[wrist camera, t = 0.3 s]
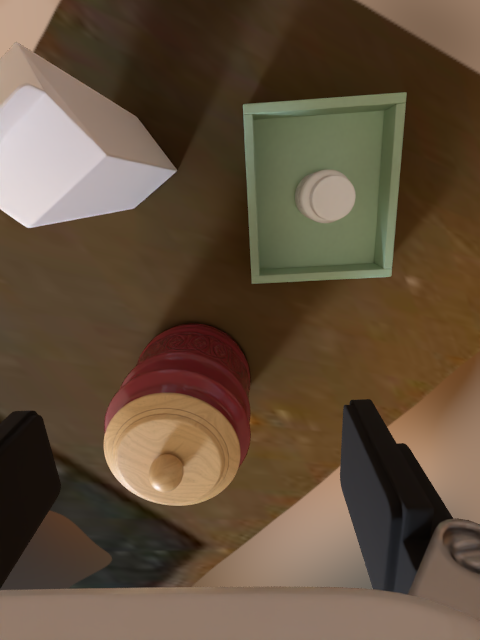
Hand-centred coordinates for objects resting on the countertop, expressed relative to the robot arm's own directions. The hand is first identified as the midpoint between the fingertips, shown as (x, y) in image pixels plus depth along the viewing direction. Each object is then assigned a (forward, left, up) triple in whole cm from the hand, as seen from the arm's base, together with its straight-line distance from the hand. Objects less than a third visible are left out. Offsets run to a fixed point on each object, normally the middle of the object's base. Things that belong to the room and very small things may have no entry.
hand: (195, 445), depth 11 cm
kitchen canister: (+13, -5, -29) cm, 32 cm away
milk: (-10, -9, -29) cm, 32 cm away
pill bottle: (-6, +9, -29) cm, 31 cm away
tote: (-6, +9, -29) cm, 31 cm away
